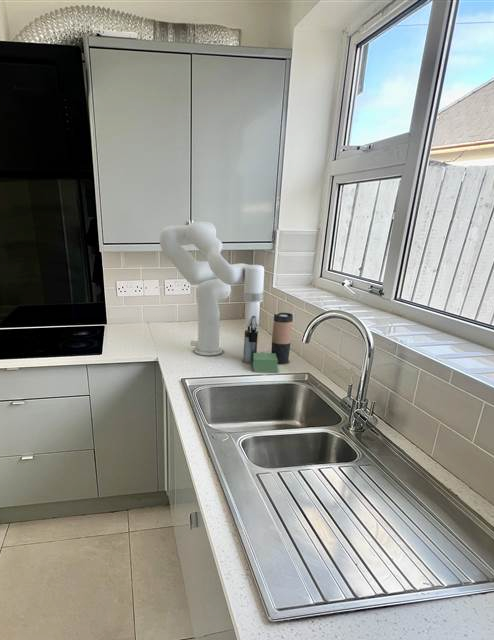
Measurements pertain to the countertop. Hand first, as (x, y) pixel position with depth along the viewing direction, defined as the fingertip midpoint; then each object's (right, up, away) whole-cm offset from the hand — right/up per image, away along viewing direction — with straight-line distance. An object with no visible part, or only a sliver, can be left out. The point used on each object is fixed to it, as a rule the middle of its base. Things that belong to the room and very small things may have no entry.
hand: (252, 338), depth 168 cm
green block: (+4, -12, -4) cm, 14 cm away
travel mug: (+12, -9, +4) cm, 16 cm away
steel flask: (0, -9, +4) cm, 10 cm away
